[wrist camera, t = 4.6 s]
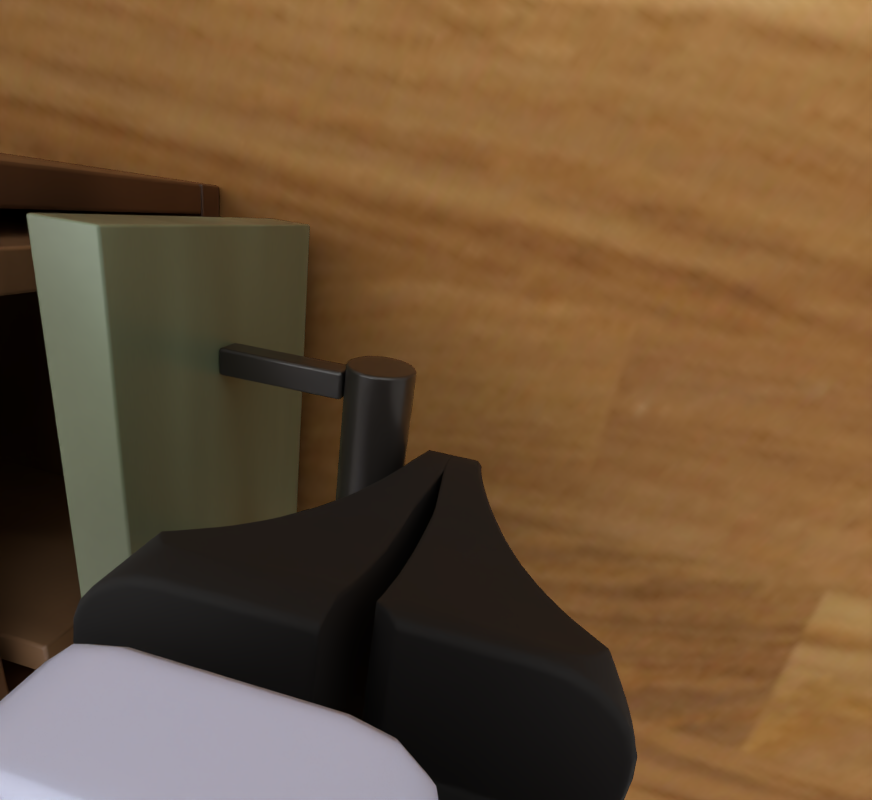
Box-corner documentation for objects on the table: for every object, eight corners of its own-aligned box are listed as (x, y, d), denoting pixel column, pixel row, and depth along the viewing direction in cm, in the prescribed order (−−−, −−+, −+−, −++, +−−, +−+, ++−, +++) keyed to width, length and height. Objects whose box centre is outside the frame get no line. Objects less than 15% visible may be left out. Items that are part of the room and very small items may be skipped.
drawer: (462, 248, 13) (381, 271, 6) (412, 578, 16) (330, 800, 10) (-81, 162, 15) (-533, 117, 9) (-18, 468, 19) (-304, 591, 12)
